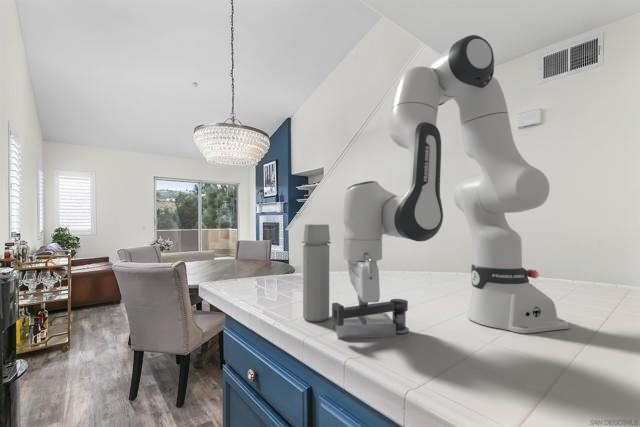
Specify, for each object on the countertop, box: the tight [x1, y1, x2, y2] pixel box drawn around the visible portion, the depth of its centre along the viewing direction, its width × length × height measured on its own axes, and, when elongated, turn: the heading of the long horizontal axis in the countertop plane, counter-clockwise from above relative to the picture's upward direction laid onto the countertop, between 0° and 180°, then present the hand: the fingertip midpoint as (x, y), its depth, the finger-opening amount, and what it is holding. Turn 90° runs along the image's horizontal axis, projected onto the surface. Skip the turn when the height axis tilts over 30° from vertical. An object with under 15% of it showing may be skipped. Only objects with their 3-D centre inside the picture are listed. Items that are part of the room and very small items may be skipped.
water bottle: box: [301, 223, 332, 323], centre depth 81 cm, size 9×8×25 cm
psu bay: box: [333, 312, 397, 339], centre depth 71 cm, size 13×8×4 cm, turn 93°
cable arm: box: [331, 298, 409, 326], centre depth 68 cm, size 19×4×4 cm, turn 115°
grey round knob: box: [391, 311, 410, 335], centre depth 71 cm, size 4×4×4 cm
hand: (363, 311), depth 69 cm, fingers closed, pressing on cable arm
